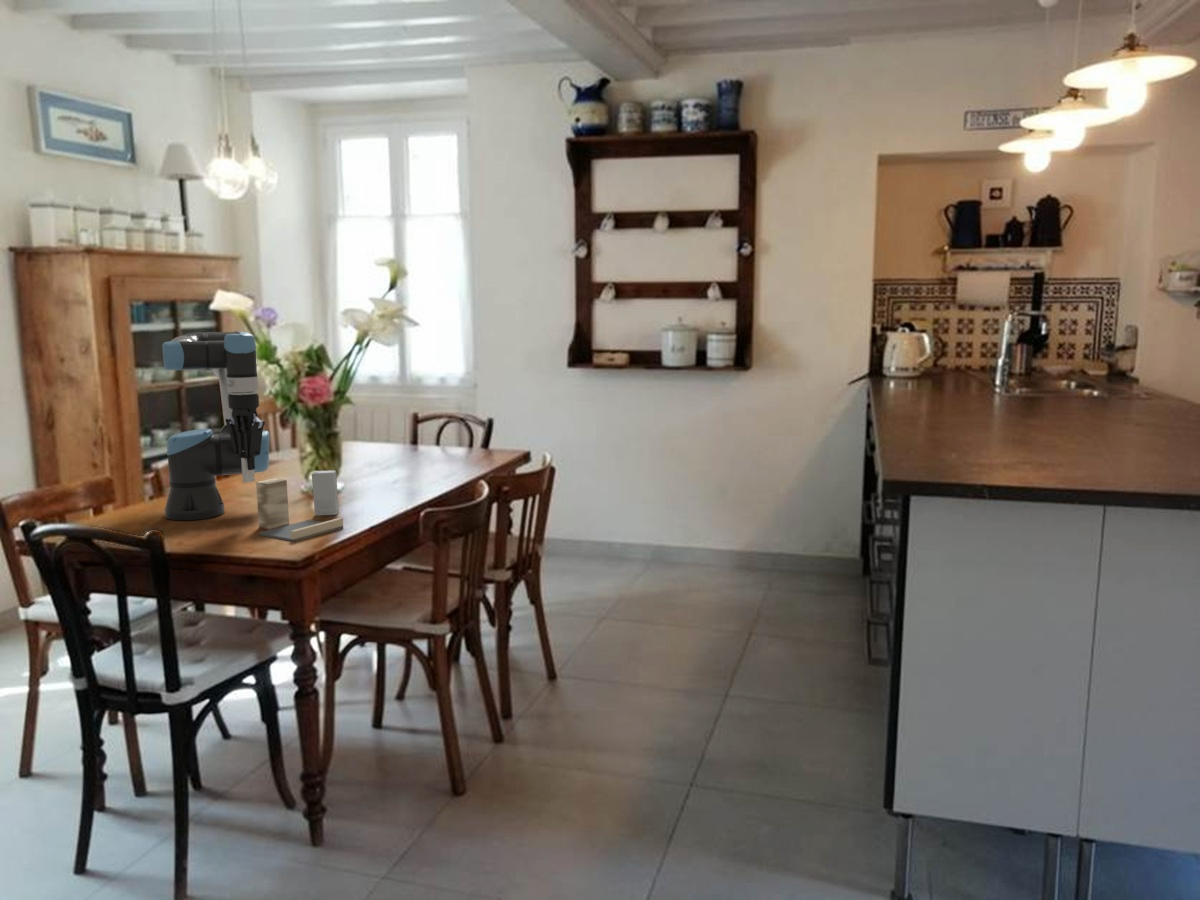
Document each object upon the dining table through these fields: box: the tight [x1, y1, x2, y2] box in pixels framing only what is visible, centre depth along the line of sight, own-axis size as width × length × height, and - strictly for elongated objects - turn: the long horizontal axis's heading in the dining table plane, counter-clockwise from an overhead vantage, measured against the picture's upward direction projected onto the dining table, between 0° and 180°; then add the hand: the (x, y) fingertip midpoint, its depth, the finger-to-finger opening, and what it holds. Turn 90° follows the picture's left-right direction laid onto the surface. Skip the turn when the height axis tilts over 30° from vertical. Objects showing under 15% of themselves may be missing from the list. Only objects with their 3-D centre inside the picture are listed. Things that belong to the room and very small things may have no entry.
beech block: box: [255, 478, 290, 531], centre depth 238 cm, size 4×6×12 cm
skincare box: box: [311, 470, 340, 516], centre depth 252 cm, size 6×4×12 cm
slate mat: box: [258, 517, 344, 543], centre depth 234 cm, size 13×16×3 cm
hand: (248, 481), depth 242 cm, fingers closed
